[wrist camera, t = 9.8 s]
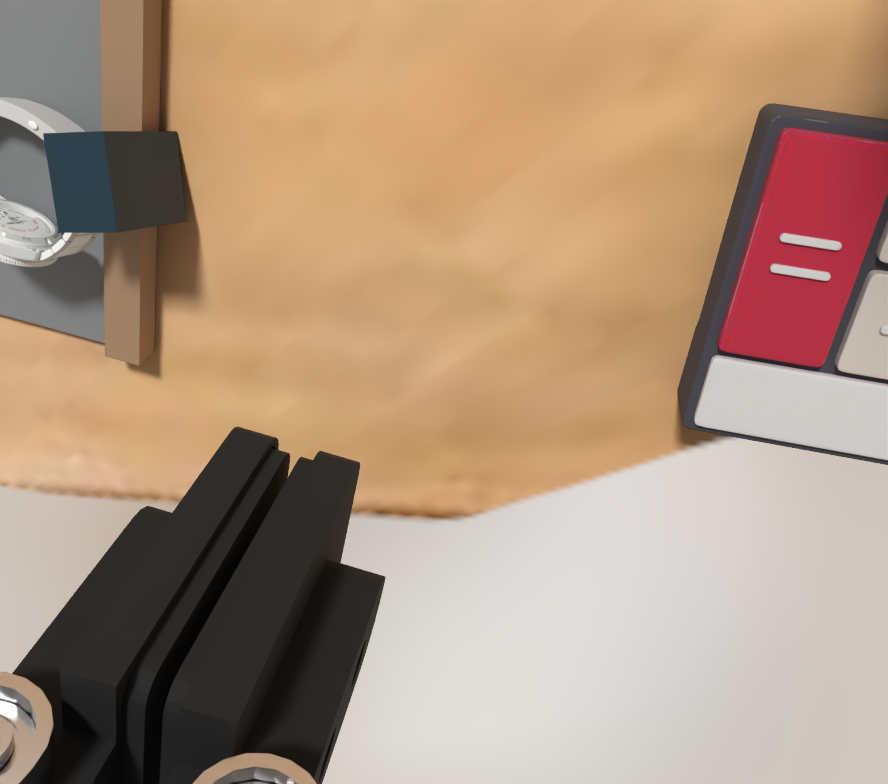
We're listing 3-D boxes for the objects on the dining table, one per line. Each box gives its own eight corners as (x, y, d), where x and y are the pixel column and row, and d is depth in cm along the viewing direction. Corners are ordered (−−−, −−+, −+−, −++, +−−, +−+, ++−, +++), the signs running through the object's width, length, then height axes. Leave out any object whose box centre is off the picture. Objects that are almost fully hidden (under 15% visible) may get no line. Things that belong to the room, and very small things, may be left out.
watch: (191, 259, 43) (14, 257, 46) (172, 93, 40) (-13, 102, 43) (121, 277, 38) (-72, 273, 41) (95, 87, 35) (-108, 98, 38)
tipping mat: (-146, -212, 36) (-179, -216, 34) (165, -134, 35) (144, -135, 34) (-75, 287, 48) (-97, 300, 47) (154, 350, 48) (139, 365, 46)
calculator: (1068, 156, 32) (918, 479, 39) (1019, 135, 36) (890, 433, 43) (775, 114, 33) (681, 436, 40) (758, 98, 37) (674, 395, 44)
